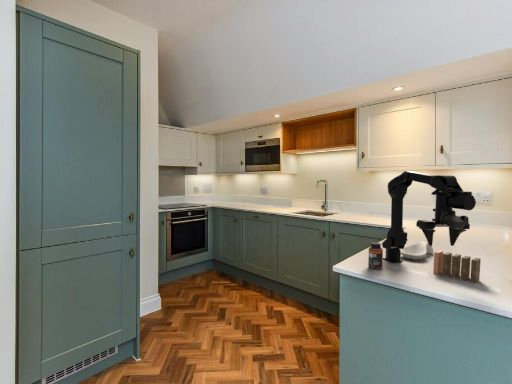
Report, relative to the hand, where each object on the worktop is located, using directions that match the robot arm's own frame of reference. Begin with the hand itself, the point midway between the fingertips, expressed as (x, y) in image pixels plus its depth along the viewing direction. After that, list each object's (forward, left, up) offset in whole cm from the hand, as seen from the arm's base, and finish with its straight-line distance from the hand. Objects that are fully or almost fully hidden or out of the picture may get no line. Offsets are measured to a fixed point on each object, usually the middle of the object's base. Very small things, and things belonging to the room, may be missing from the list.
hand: (441, 245), depth 113 cm
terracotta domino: (-7, +7, -14) cm, 17 cm away
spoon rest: (-29, +20, -14) cm, 38 cm away
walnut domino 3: (+2, +11, -14) cm, 18 cm away
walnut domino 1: (-4, +9, -14) cm, 17 cm away
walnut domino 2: (-1, +10, -14) cm, 17 cm away
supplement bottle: (-19, -15, -14) cm, 28 cm away
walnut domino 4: (+5, +12, -14) cm, 19 cm away
